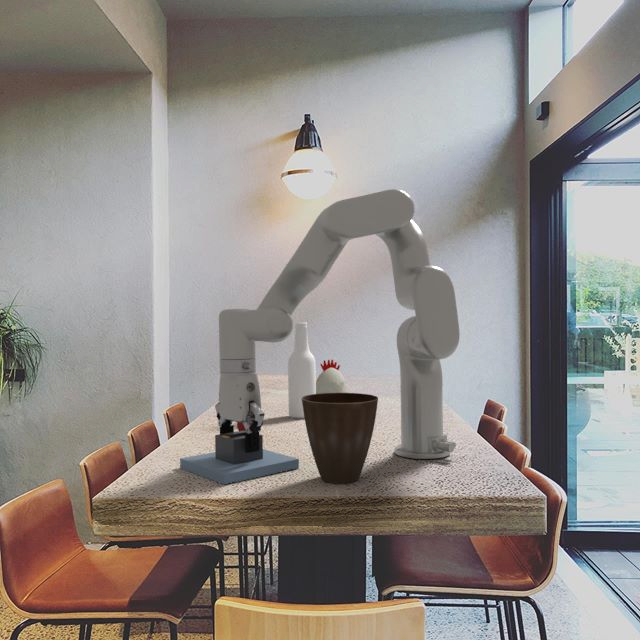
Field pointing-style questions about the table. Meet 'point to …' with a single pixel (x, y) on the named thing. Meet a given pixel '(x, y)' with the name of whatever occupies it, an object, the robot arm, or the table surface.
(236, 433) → the hollow gray block
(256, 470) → the base board
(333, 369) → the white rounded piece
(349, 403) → the plant pot
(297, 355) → the alcohol
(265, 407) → the table surface
